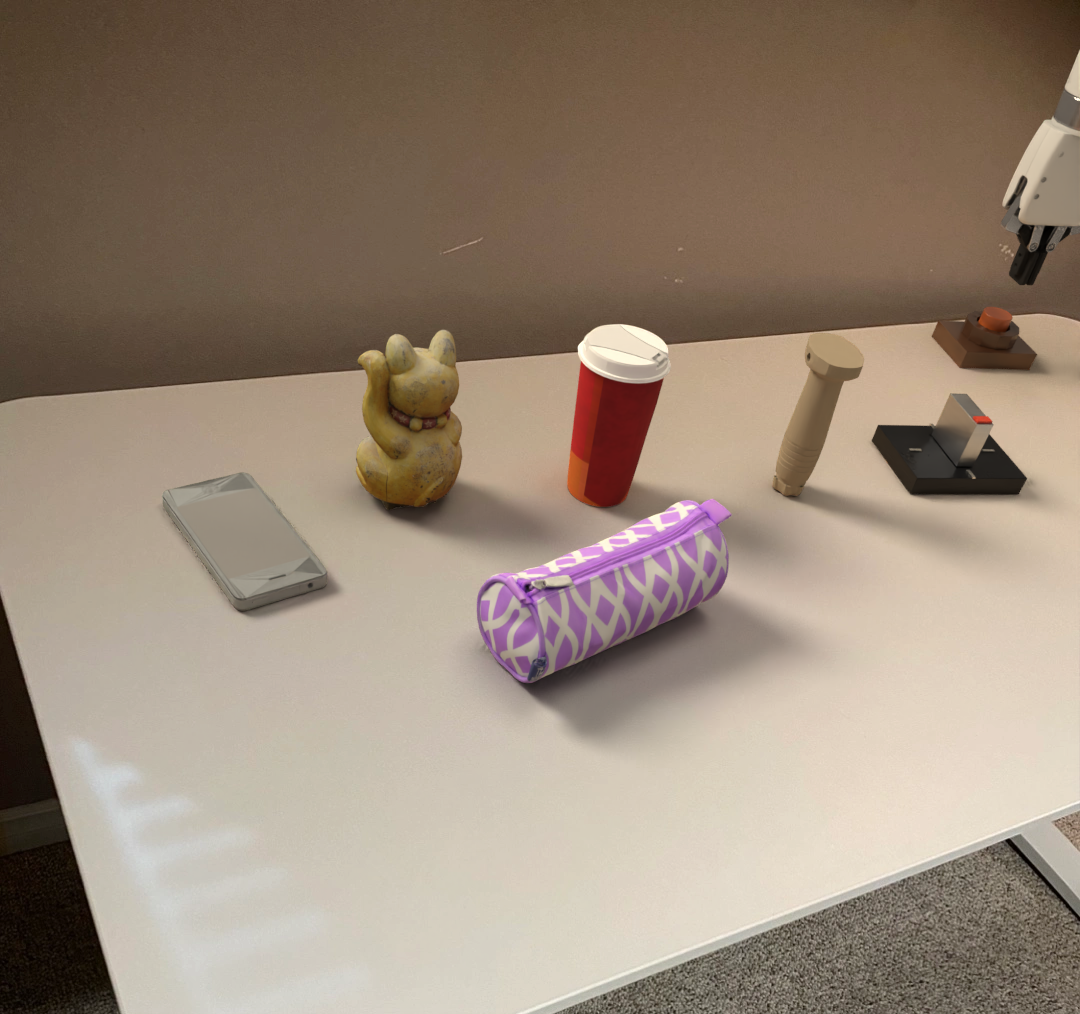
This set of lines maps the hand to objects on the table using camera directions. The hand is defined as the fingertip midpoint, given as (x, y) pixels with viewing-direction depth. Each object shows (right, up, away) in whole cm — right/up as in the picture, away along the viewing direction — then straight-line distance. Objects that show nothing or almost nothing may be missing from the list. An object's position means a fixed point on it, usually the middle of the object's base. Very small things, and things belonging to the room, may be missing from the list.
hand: (1020, 280), depth 131 cm
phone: (-83, -38, -39) cm, 100 cm away
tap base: (-14, -26, -14) cm, 33 cm away
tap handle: (-14, -24, -16) cm, 32 cm away
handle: (-33, -30, -21) cm, 50 cm away
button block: (-2, -6, +7) cm, 10 cm away
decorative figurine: (-70, -33, -31) cm, 83 cm away
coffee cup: (-53, -31, -26) cm, 66 cm away
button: (-2, -4, +4) cm, 6 cm away
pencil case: (-53, -46, -40) cm, 81 cm away
